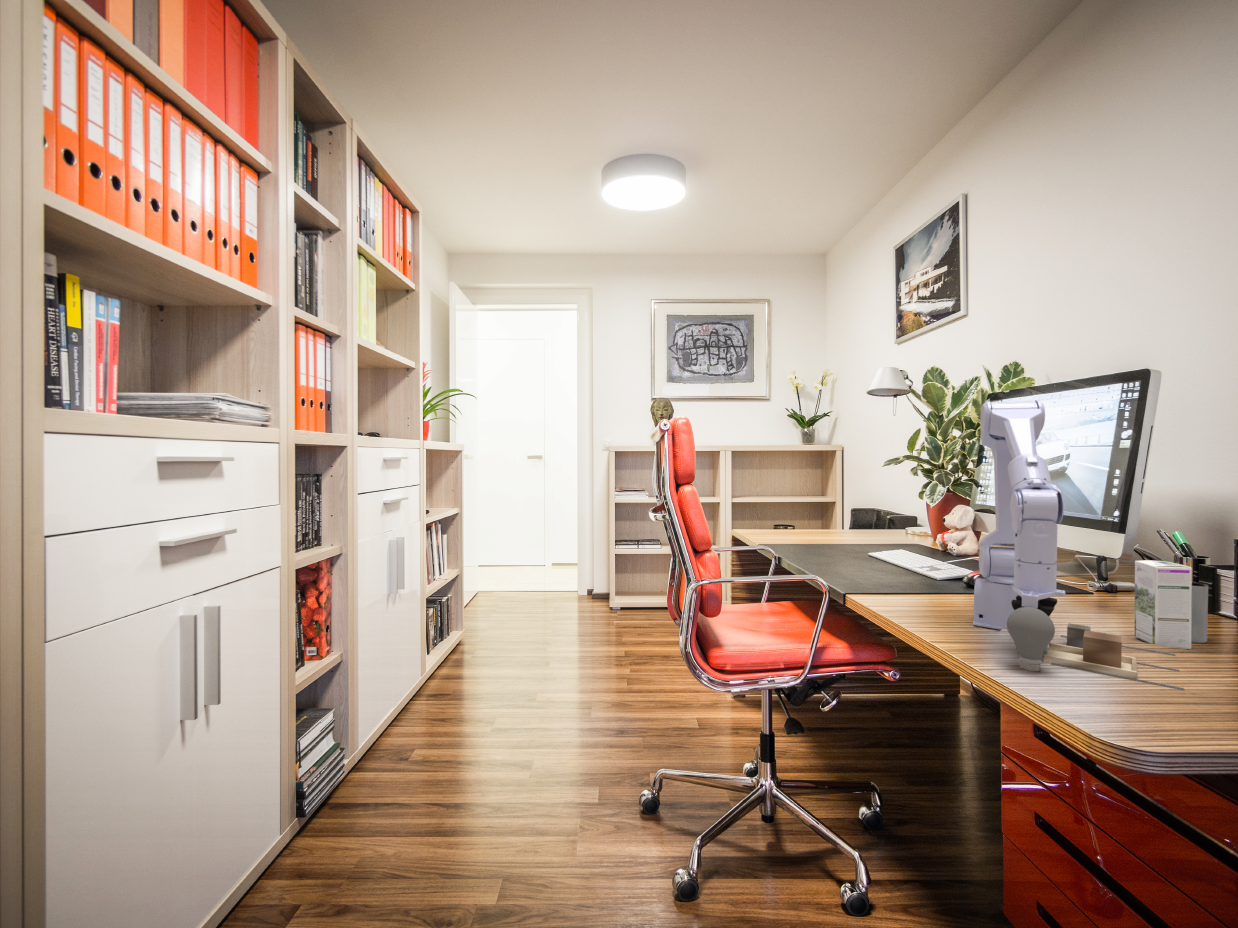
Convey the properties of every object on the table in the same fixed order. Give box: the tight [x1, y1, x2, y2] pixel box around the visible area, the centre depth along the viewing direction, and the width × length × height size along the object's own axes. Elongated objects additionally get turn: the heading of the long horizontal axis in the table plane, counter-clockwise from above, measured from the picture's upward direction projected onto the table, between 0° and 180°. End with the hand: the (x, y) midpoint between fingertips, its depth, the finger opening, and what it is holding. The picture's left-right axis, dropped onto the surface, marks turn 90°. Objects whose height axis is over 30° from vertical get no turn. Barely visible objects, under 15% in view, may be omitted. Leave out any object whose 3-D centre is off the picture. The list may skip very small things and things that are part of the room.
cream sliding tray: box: [1042, 642, 1138, 679], centre depth 92 cm, size 14×8×6 cm, turn 49°
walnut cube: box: [1083, 630, 1123, 668], centre depth 90 cm, size 4×4×4 cm
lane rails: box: [1050, 635, 1185, 691], centre depth 93 cm, size 15×20×1 cm
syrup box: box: [1133, 559, 1193, 650], centre depth 104 cm, size 6×6×14 cm
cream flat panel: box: [1066, 622, 1091, 648], centre depth 96 cm, size 14×8×4 cm, turn 49°
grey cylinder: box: [1191, 581, 1209, 644], centre depth 107 cm, size 4×4×10 cm
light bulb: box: [1006, 607, 1056, 672], centre depth 89 cm, size 6×6×10 cm
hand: (1033, 643), depth 96 cm, fingers closed on cream sliding tray, 3 cm apart
